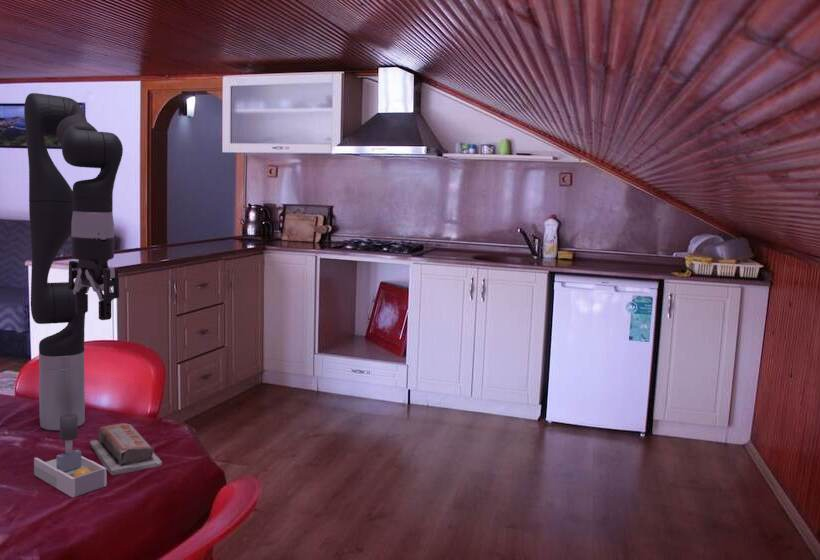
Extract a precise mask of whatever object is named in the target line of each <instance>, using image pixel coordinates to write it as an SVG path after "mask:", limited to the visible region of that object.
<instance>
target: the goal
mask: <svg viewBox="0 0 820 560" xmlns="http://www.w3.org/2000/svg"><path fill="white" fill-rule="evenodd" d="M88 469H89V470H91V471H92V472H90V473H86V474H83V475H80V476H77V477H74V478H73V477H72V476H70V475H68V474H66V473H64V472H63V471H61V470H57V488H56V489H57V490H59V491H61V492H62V493H64V495H65V494H66V495H67V496H69V497H70V498H72V499H73V498H76V497H79V496H81V495H84V494H87V493H90V492H92V491H96V490H99V489H102V488H104V487H105V488H106V487H107V485H108V484H107V478H108V477H107V476H108V475H107V474H108V473H107V472H108V471H107V468H105V467H104V466H103V465H101V464H99V463H98V462H95V461H93V460H91V459H89V461H88Z"/></svg>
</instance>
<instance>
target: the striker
mask: <svg viewBox="0 0 820 560" xmlns="http://www.w3.org/2000/svg"><path fill="white" fill-rule="evenodd" d="M78 427H79V426H78V416H77V415H75V414H68V415H63V416H61V417H60V430H59V439H60V441H65V443H64V445H65V448H64V449H65V450H64V451H65V452H64V453H61V454H57V455H56V458H55V459H56V461H57V469H58V470H61V471H63V472H65V471H68V470H71V469H74V468H78V467H81V456H82V450H79V449H74V450H73V440H75V439H77V438H78V435H79V434H78V433H79V429H78Z"/></svg>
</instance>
